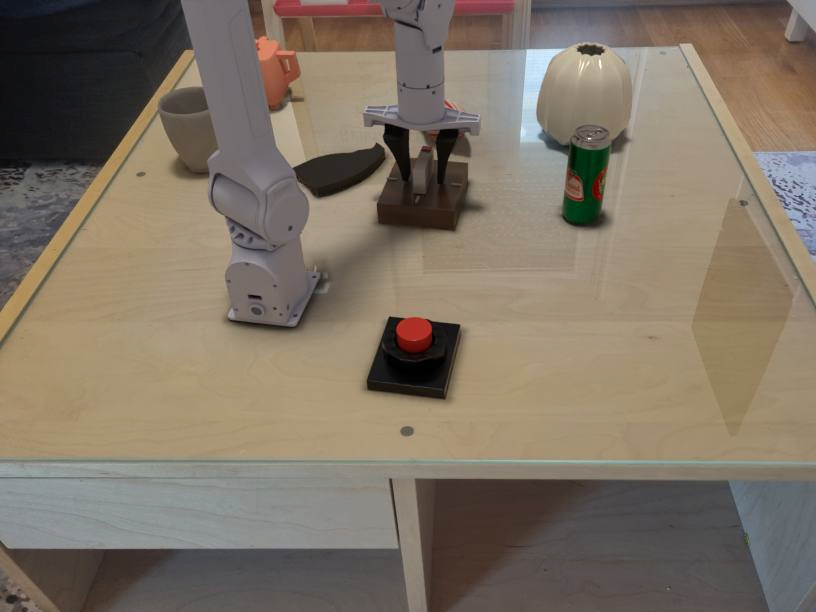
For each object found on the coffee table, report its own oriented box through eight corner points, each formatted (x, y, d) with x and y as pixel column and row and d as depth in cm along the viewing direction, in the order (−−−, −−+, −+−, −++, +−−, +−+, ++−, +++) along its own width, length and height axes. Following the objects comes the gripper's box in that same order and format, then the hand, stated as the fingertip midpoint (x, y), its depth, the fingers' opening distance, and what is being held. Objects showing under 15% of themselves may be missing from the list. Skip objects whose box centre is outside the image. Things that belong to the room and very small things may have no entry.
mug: (243, 171, 107) (229, 107, 100) (179, 184, 104) (161, 119, 97) (227, 134, 115) (213, 72, 108) (168, 145, 112) (150, 83, 105)
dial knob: (425, 194, 97) (424, 168, 94) (413, 193, 97) (412, 167, 94) (434, 170, 101) (433, 145, 98) (422, 169, 101) (421, 144, 99)
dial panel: (454, 230, 96) (454, 209, 94) (377, 222, 97) (375, 202, 95) (468, 181, 105) (469, 161, 103) (397, 175, 106) (396, 155, 104)
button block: (444, 398, 75) (444, 377, 73) (367, 388, 76) (364, 368, 74) (460, 332, 82) (460, 311, 80) (389, 324, 83) (387, 303, 81)
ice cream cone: (414, 131, 124) (478, 156, 109) (382, 118, 120) (443, 142, 105) (427, 95, 123) (494, 115, 108) (395, 80, 119) (459, 99, 104)
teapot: (211, 98, 124) (197, 39, 117) (275, 78, 129) (265, 21, 122) (245, 124, 117) (232, 63, 110) (310, 101, 123) (302, 42, 116)
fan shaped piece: (402, 170, 107) (402, 159, 106) (317, 199, 101) (315, 189, 100) (373, 146, 112) (372, 136, 111) (290, 173, 106) (288, 162, 105)
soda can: (555, 209, 100) (564, 126, 91) (588, 202, 101) (600, 119, 93) (572, 230, 96) (583, 145, 88) (606, 222, 98) (621, 138, 89)
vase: (528, 152, 111) (535, 63, 102) (543, 110, 121) (550, 25, 111) (622, 164, 108) (637, 74, 99) (629, 120, 118) (644, 34, 109)
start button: (428, 355, 76) (428, 342, 74) (393, 350, 76) (392, 338, 75) (435, 331, 78) (434, 318, 77) (401, 327, 79) (400, 315, 77)
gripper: (485, 69, 91) (482, 168, 101) (369, 61, 93) (377, 158, 102) (476, 94, 86) (474, 196, 96) (355, 85, 88) (364, 186, 97)
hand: (423, 178), depth 99 cm, fingers open, 4 cm apart
